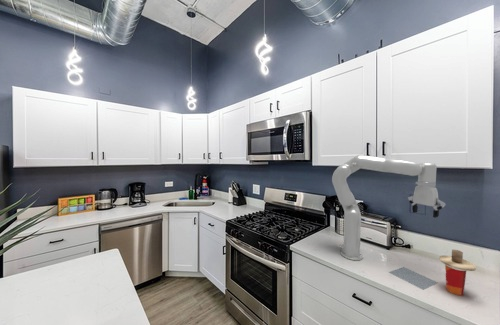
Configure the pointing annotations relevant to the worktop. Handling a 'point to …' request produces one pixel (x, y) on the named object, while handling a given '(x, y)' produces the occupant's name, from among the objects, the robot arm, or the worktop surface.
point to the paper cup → (455, 280)
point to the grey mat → (413, 278)
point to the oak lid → (457, 261)
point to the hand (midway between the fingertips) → (424, 214)
